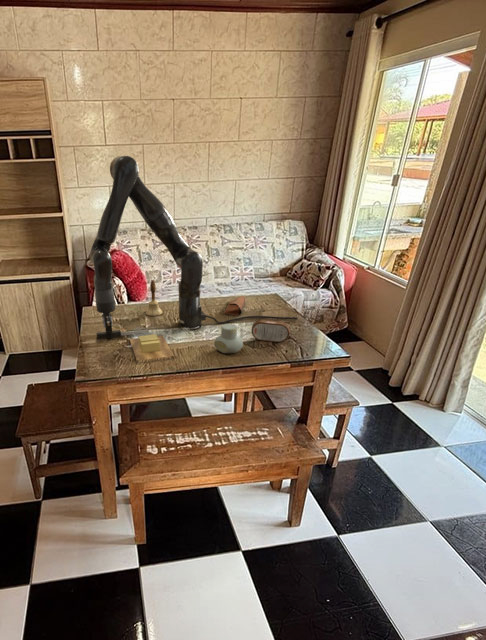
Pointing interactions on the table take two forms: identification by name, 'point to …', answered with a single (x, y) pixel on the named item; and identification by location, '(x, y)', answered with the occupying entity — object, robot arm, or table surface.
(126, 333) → the knife
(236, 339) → the air freshener
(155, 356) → the board
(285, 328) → the tin
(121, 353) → the table surface
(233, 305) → the sunglasses case
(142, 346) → the butter slice
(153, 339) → the butter
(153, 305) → the hand bell
